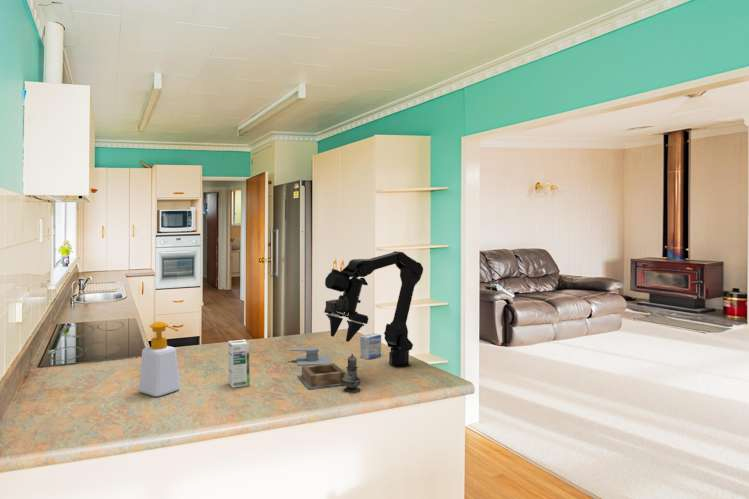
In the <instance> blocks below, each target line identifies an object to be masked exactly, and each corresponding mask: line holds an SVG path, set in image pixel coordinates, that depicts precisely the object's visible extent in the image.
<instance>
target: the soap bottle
mask: <svg viewBox="0 0 749 499" xmlns="http://www.w3.org/2000/svg"><path fill="white" fill-rule="evenodd" d="M149 328H151V330H152V332H153V333H155V334H156V335H155V337H153V338H151V339H150V341H151V343H150V344H151V346H150V347H149V346H148V347H144V348H143V349H142V351H141V360H140V373H139V381H138V382H139V384H138V391H139V392H140V393H142V394H146V395H149V396H152V397H162V396H163V395H166V394H170V393H173V392H176V391H179V390H180V388H181V380H180V379H181V378H180V371H179V363H178V353H177V349H176V347H173V346H170V345H168V339H167V337H165V336H164V337H163V335H162V333H163V332H165V331H166V328H169V329H172V330H173V331H175V332H179V330H178V328H175V327H172V326H170V325H169V324H167V323H166V322H164V321H155V322H153V323H152V324H150V325H149Z"/></svg>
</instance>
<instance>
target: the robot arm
mask: <svg viewBox="0 0 749 499" xmlns="http://www.w3.org/2000/svg"><path fill="white" fill-rule="evenodd" d="M392 265H395V266H396V268H398V269H399V270H400V271H399V277H400V281H401V284H400V285H401V286H400V290H399V293H398V299H397V303H396V307H395V309H394V310H395V312H394V314H393V315H394V316H393V319H392V321H391V322H390V323H386V325H385V329H384V332H383V335H384V340H385V342H386V344H387V347H388V348H390V352H389V356H388V358H389V359H388V360H389V361H388V364H390V365H391V366H393V367H394V368H400V367H401V368H402V367H409V366H411V365H412V364H411V363H410V362H409V360H410V358H409V357H410V351H411V350H412V349H413V346H414V344H413V343H412V341H411V340H410V339H409V338H408V336H409V330H408V326H407V320H408V316H409V311H410V308H411V302H412V299H413V294H414V291H415V286H416V285H418V282H420V280H421V278H422V276H423V274H424V267H423V265H422V263H421V262H418V261H416V260H415V259H413V258H411V257H410V256H408V255H407V254H405V252H404V251H403V252H402V251H397V250H396V251H392V252H390V253H387V254H383V255H382V254H381V255H379V256H375V257H371V258H357V259H356V258H354V259H351V260H349V262H348V264H347V265H346V266H345V267H344V268H343V269H342V270H338V269H335V268H332V269H331V271H330V272H329V273H327V276H326V277H325V281H324V285H325V288H327V289H329V290H331V291H332V290H334V291H336V292H339V293H342V292H343V293H342V294H341V295H339V296H338V298H337V299H331V300H326V301H325V308H324V311H323V313H324V314H325V313H326V314H325V316H327V318H328V320H329V327H330V328H329V329H330V337H335V335H336V333H337V331H338V330H339V327H340V326H341V324H342V322H343V320H344V318H343V317H345V318H348V319H346V322H347V325H348V326H347V327H348V328H347V332H346V336H345V337H346V338H345V342H348V343H349V342H350V341H351V340H352V339H353V338H354V336H356V333H358V332H359V331H360V329H362V327H364V326H365V324H366V325H368V323H369V317H368V315H366V314H363V313H362V314H361V313H358V311H357V306H358V304H361V301H362V300H361V299H360V296H361V291H362V287H363V286H369V285H368V282H367V280H366V278H365V277H367V276H370V275H371V274H372V273H373V272H374V271H377V270H379V269H383V268H386V267H390V266H392Z"/></svg>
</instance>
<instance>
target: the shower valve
mask: <svg viewBox="0 0 749 499" xmlns="http://www.w3.org/2000/svg"><path fill="white" fill-rule="evenodd" d="M289 350H290V352H305V353H306V355H298V356H296V362H297V367H302V366H312V365H322V364H332V362H331V360H330V356H329V355H328V354H318V353H319V347H315V346H310V347H308V346H307V347H291V348H290V349H289Z"/></svg>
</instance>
